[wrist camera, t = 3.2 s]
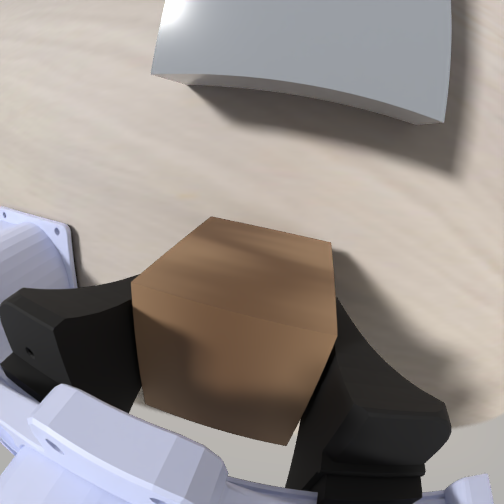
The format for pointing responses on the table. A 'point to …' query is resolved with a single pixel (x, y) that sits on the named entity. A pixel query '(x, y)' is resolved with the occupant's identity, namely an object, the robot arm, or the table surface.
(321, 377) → the robot arm
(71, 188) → the table surface
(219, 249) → the walnut block
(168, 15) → the gray block
